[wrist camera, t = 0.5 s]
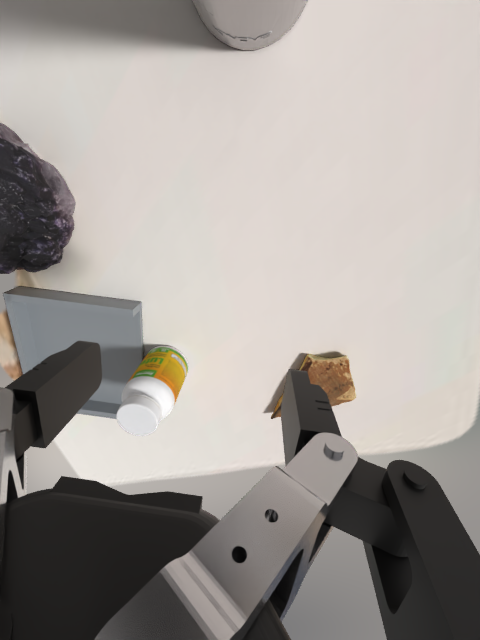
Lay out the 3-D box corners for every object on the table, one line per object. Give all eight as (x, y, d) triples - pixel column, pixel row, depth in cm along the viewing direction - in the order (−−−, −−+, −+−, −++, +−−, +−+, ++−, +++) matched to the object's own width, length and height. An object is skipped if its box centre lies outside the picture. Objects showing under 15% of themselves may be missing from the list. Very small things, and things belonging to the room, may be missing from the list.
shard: (270, 410, 39) (271, 420, 37) (253, 363, 36) (252, 372, 34) (354, 393, 37) (358, 403, 35) (343, 342, 34) (347, 350, 32)
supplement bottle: (172, 337, 35) (141, 389, 26) (197, 371, 36) (176, 430, 28) (137, 355, 36) (96, 410, 27) (163, 387, 38) (132, 448, 29)
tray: (19, 286, 33) (2, 293, 31) (141, 301, 33) (132, 310, 31) (44, 394, 40) (31, 407, 38) (145, 408, 40) (138, 421, 37)
